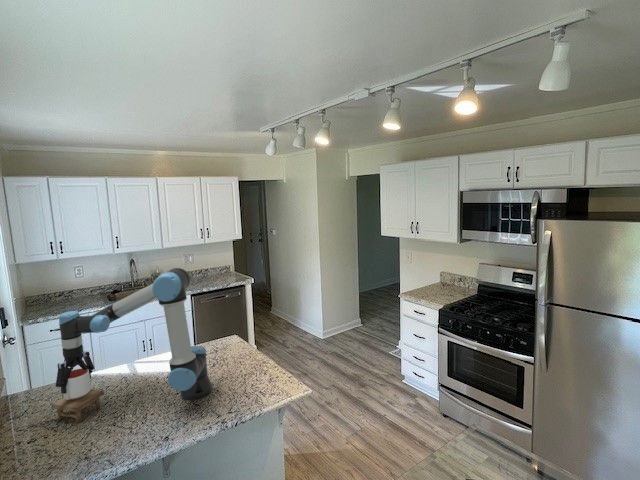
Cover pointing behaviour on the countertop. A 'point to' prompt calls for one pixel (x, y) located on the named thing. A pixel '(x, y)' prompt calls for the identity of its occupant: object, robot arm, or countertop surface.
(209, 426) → the countertop surface
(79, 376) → the cup
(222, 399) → the countertop surface
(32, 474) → the countertop surface
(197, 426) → the countertop surface
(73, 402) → the stool
